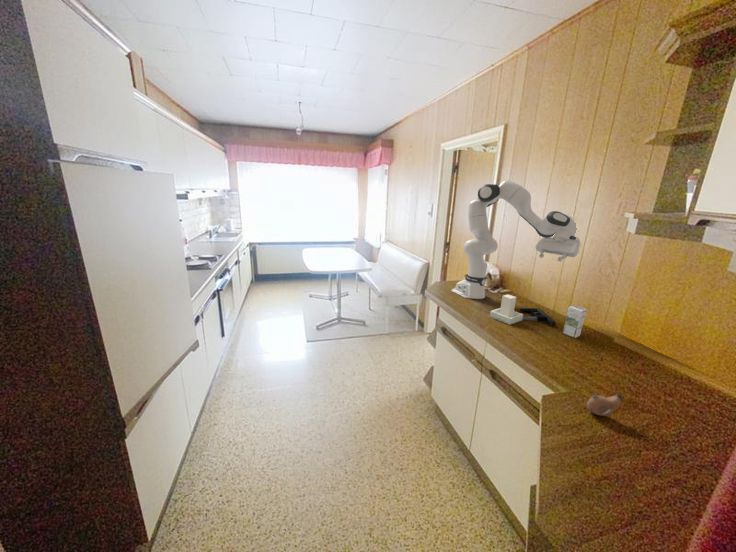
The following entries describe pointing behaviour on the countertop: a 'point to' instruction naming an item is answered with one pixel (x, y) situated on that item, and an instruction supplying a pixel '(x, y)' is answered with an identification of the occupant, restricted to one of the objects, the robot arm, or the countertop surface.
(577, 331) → the syrup box
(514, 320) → the tray
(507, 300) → the cream block
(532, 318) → the toy submachine gun
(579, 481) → the countertop surface
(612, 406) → the oil lamp
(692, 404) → the countertop surface
